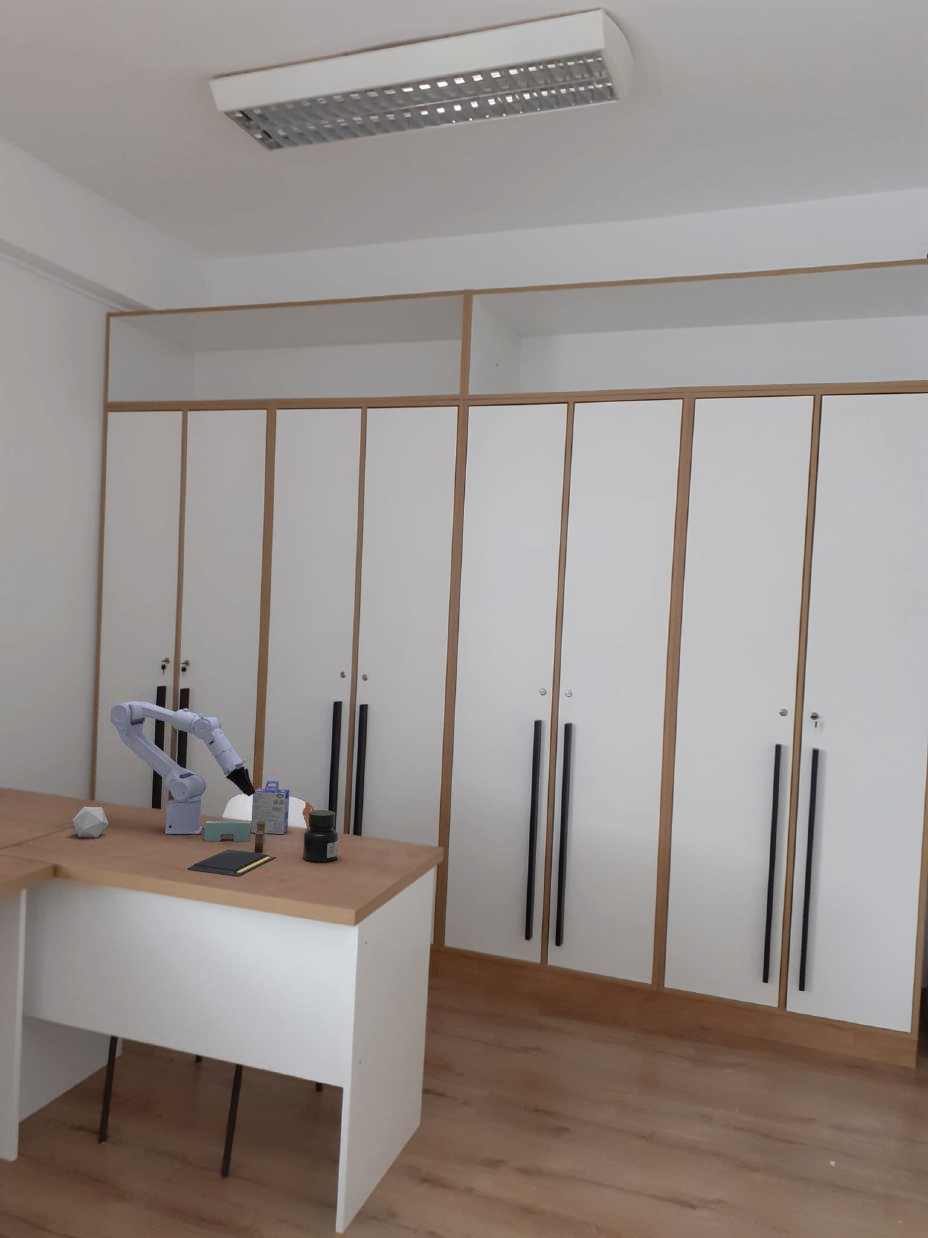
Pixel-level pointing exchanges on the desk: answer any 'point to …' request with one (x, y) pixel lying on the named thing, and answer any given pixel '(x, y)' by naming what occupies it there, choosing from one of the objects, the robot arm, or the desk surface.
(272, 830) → the ink cartridge box
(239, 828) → the teal curved block
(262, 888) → the desk surface
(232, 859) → the wallet
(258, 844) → the rail
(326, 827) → the ink bottle
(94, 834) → the die
